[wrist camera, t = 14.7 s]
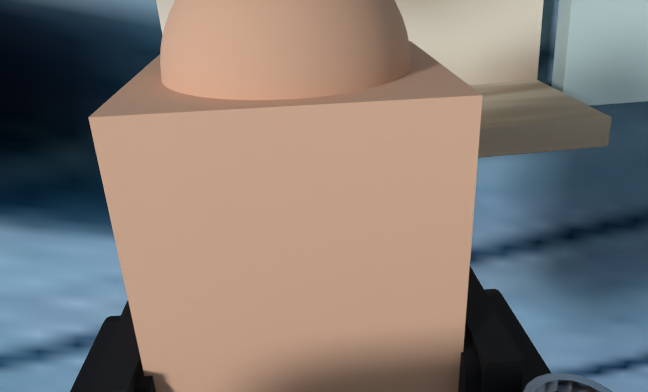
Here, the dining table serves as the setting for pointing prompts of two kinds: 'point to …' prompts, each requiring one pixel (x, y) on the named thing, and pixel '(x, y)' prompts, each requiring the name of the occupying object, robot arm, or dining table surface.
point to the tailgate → (602, 51)
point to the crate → (498, 73)
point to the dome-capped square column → (293, 200)
